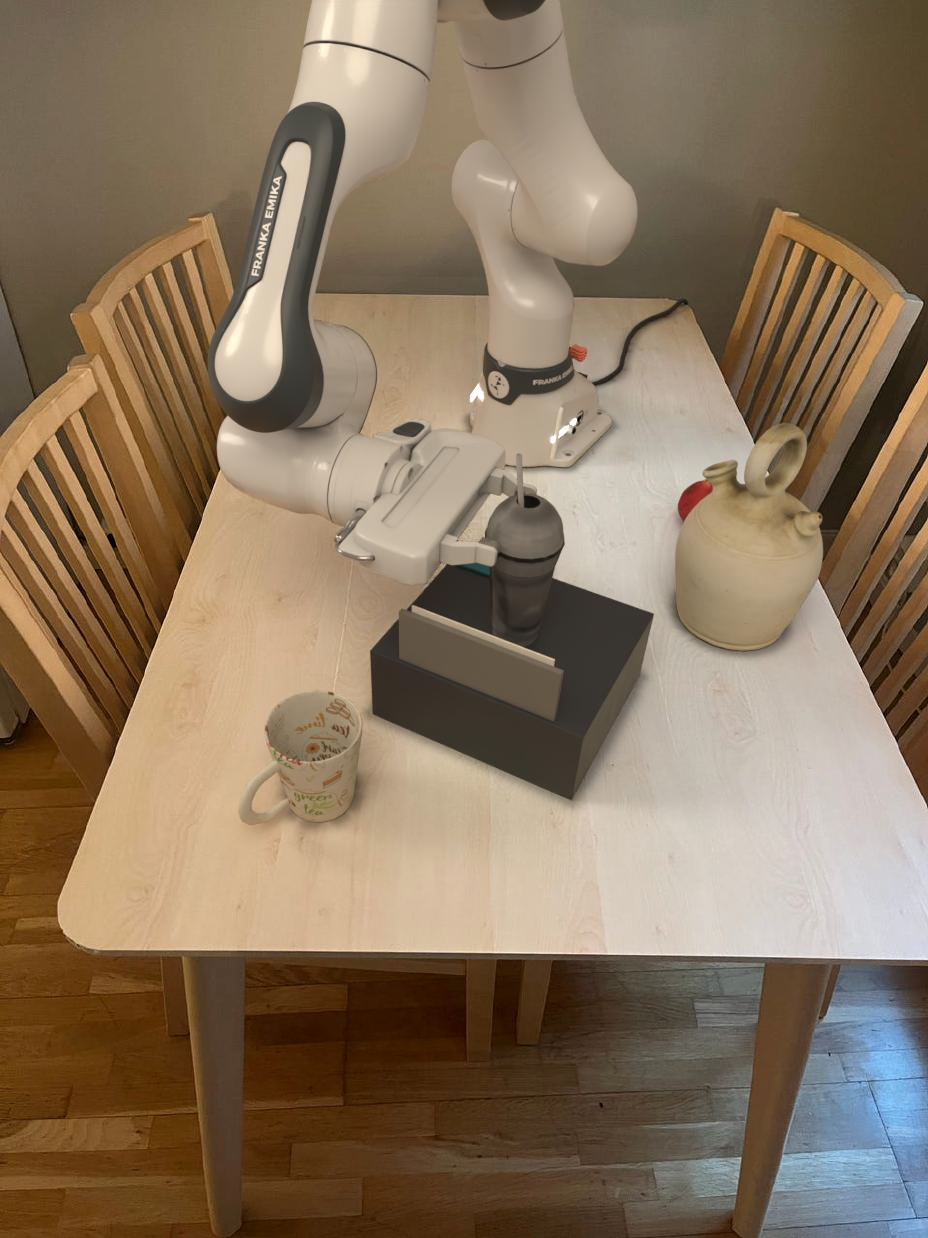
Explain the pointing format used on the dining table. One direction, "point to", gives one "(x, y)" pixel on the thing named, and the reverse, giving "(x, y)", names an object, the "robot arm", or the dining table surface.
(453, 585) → the printer
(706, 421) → the dining table surface
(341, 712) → the mug
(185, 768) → the dining table surface
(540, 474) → the dining table surface
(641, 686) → the dining table surface
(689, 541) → the jug
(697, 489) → the red pomegranate
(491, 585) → the beverage cup
